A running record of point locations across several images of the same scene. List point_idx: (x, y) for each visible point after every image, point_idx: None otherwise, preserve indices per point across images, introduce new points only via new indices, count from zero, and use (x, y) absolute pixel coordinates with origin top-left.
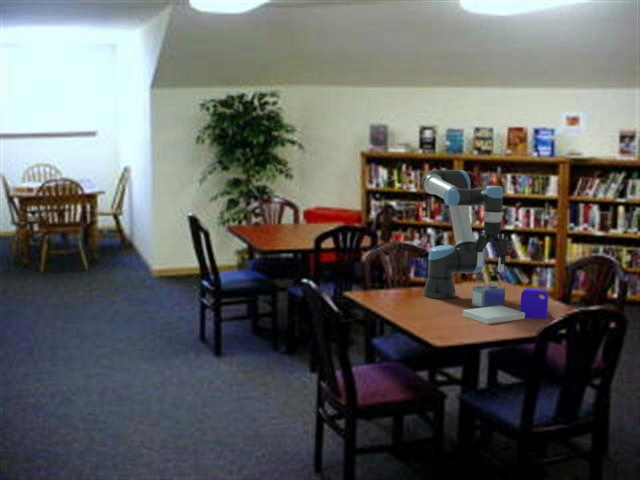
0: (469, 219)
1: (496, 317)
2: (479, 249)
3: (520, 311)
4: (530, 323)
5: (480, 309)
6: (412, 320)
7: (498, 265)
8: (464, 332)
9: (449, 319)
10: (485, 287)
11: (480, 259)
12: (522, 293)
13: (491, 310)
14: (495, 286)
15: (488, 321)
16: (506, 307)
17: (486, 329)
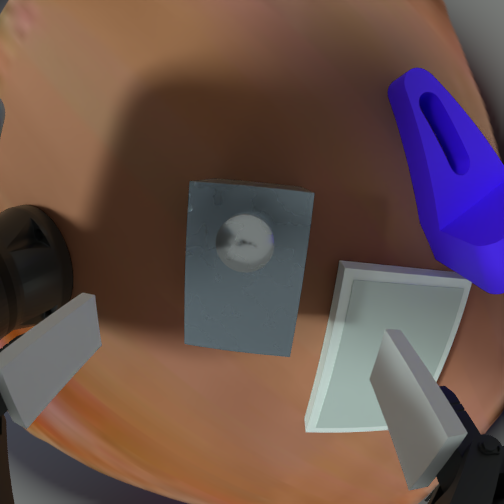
0: None
1: None
2: (7, 450)
3: (446, 264)
4: (492, 303)
5: (341, 390)
6: (260, 500)
7: (386, 417)
8: (401, 476)
9: (307, 458)
10: (233, 297)
11: (61, 361)
12: (493, 290)
13: None
14: (273, 250)
15: None
16: (384, 273)
17: None
